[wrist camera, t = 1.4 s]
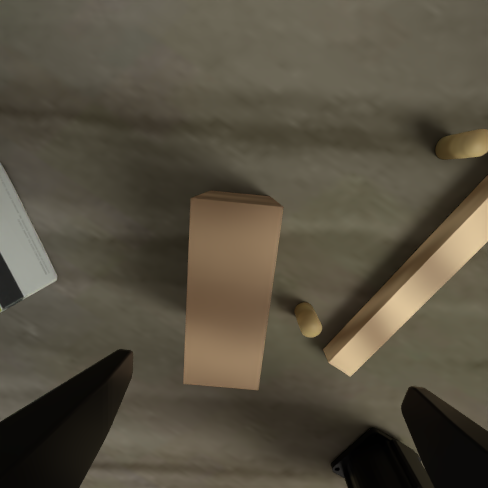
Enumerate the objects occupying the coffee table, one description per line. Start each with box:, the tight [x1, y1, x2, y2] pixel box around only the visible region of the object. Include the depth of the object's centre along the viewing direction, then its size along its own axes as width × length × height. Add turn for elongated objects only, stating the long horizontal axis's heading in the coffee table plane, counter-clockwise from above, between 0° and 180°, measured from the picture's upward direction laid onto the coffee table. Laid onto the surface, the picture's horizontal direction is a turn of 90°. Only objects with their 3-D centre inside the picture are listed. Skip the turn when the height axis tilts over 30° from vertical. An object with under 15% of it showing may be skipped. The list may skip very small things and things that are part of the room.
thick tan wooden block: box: [183, 191, 283, 390], centre depth 17 cm, size 11×5×7 cm, turn 174°
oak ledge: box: [295, 129, 488, 376], centre depth 18 cm, size 20×7×2 cm, turn 144°
